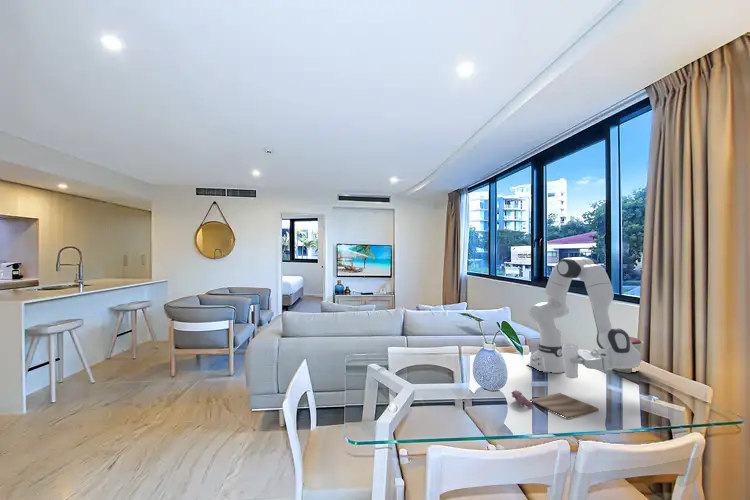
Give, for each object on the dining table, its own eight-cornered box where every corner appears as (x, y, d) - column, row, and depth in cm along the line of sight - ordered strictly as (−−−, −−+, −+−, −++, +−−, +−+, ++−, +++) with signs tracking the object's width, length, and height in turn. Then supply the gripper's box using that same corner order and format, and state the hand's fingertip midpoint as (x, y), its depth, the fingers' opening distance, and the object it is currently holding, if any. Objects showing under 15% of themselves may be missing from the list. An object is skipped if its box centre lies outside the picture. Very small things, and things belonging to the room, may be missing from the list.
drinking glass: (582, 379, 169) (579, 346, 170) (566, 379, 170) (564, 347, 171) (576, 374, 176) (574, 343, 176) (561, 374, 177) (559, 343, 177)
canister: (598, 368, 207) (596, 331, 208) (619, 363, 214) (617, 328, 215) (631, 377, 191) (629, 337, 191) (653, 372, 198) (650, 333, 198)
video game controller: (514, 403, 169) (507, 390, 169) (523, 398, 169) (515, 385, 169) (525, 412, 159) (518, 398, 159) (534, 406, 160) (526, 393, 159)
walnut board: (530, 401, 166) (529, 399, 166) (559, 394, 172) (559, 392, 172) (566, 419, 147) (566, 416, 147) (598, 410, 154) (598, 408, 154)
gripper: (591, 346, 181) (561, 346, 184) (608, 357, 161) (574, 357, 164) (592, 359, 181) (562, 358, 183) (609, 371, 161) (575, 371, 164)
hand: (568, 358), depth 173 cm, fingers closed on drinking glass, 6 cm apart
